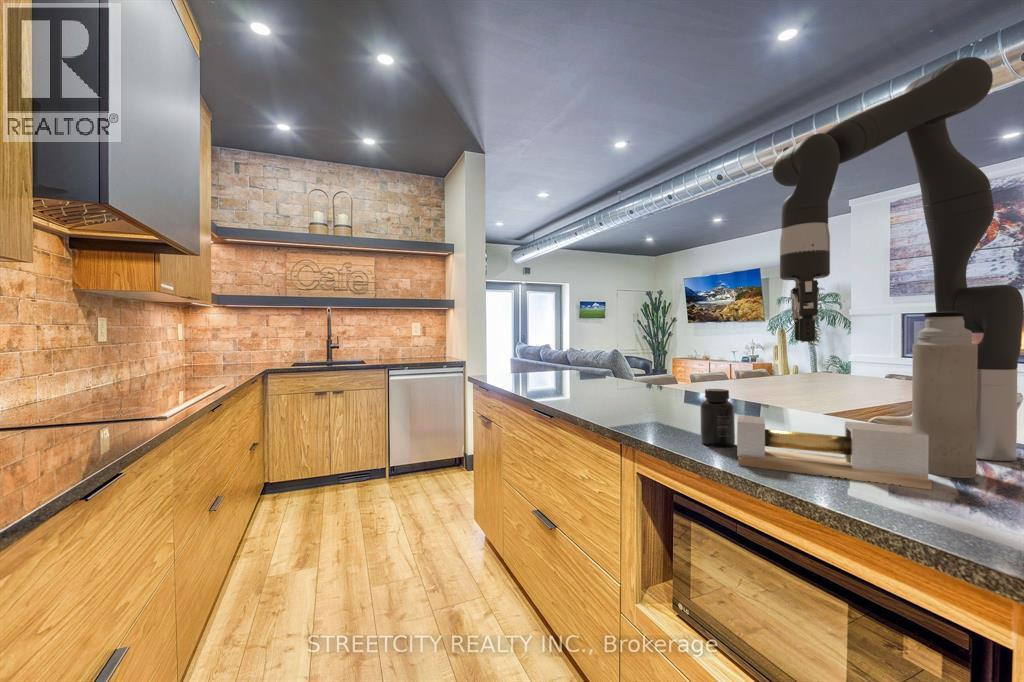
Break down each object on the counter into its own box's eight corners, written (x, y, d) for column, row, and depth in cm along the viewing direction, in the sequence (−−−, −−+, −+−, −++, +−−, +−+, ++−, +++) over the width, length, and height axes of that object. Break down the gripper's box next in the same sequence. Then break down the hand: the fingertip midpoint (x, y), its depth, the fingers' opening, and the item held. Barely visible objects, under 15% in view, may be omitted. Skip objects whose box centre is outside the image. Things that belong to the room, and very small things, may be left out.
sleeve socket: (738, 447, 86) (738, 413, 86) (914, 466, 73) (914, 426, 73) (737, 456, 81) (737, 419, 80) (928, 478, 67) (928, 435, 67)
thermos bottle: (951, 464, 78) (952, 312, 78) (990, 479, 70) (992, 310, 70) (900, 462, 80) (901, 313, 79) (933, 476, 72) (935, 311, 71)
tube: (854, 453, 76) (854, 435, 76) (858, 458, 73) (858, 439, 73) (751, 442, 84) (751, 426, 84) (751, 446, 81) (751, 429, 81)
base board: (739, 451, 88) (739, 446, 88) (910, 471, 75) (910, 464, 75) (738, 465, 79) (738, 458, 79) (931, 489, 66) (931, 482, 66)
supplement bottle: (736, 442, 95) (736, 388, 95) (733, 449, 90) (733, 392, 89) (702, 438, 99) (702, 387, 99) (698, 445, 93) (698, 390, 93)
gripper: (836, 242, 70) (836, 342, 70) (823, 256, 82) (823, 340, 82) (782, 247, 73) (782, 342, 74) (777, 259, 86) (777, 340, 86)
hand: (804, 341), depth 78 cm, fingers open, 8 cm apart
